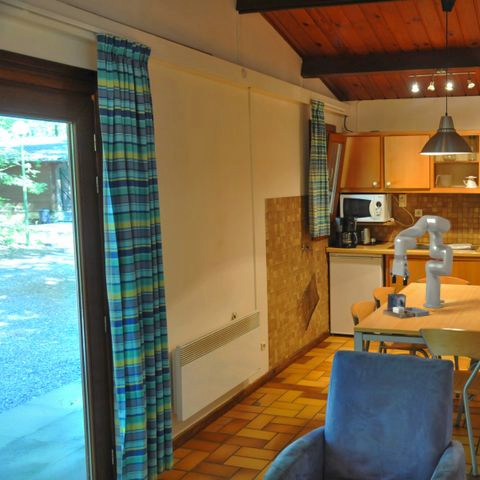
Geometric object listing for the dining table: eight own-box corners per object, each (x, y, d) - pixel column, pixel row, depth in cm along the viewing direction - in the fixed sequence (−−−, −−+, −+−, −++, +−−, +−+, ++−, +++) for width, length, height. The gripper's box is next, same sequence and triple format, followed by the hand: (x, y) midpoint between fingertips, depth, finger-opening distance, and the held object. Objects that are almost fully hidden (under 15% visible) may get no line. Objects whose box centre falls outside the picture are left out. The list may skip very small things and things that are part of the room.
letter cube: (398, 314, 452) (398, 306, 452) (404, 315, 448) (404, 307, 447) (392, 315, 450) (393, 307, 449) (398, 316, 445) (398, 308, 445)
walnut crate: (395, 312, 459) (395, 308, 458) (413, 317, 445) (414, 312, 445) (383, 314, 453) (383, 310, 452) (401, 319, 439) (401, 314, 439)
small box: (390, 311, 463) (391, 295, 462) (386, 309, 469) (387, 293, 468) (405, 310, 465) (406, 295, 464) (401, 308, 471) (402, 293, 470)
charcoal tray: (411, 311, 463) (411, 307, 462) (429, 315, 450) (429, 311, 450) (399, 313, 457) (399, 308, 457) (416, 317, 444) (416, 312, 444)
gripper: (414, 259, 440) (413, 286, 441) (394, 255, 454) (393, 282, 456) (406, 259, 436) (405, 287, 437) (386, 256, 450) (385, 283, 452)
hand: (399, 284), depth 447 cm, fingers open, 9 cm apart
